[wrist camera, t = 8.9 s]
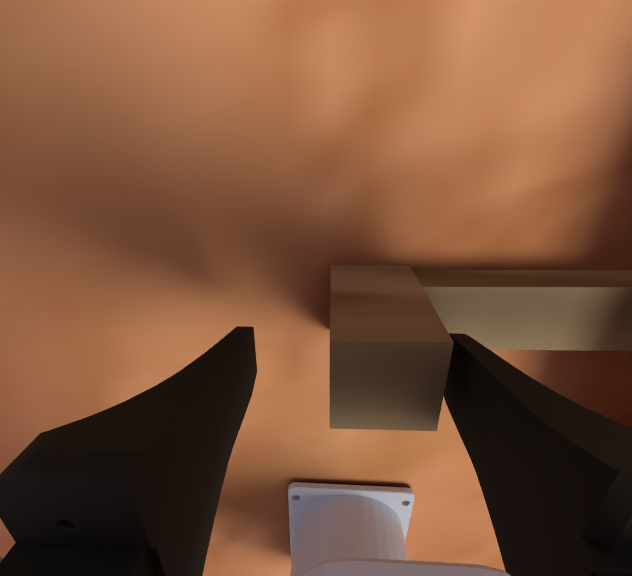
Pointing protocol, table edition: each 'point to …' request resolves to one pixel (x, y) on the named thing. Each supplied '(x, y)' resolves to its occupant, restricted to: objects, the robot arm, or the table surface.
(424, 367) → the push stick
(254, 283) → the table surface
